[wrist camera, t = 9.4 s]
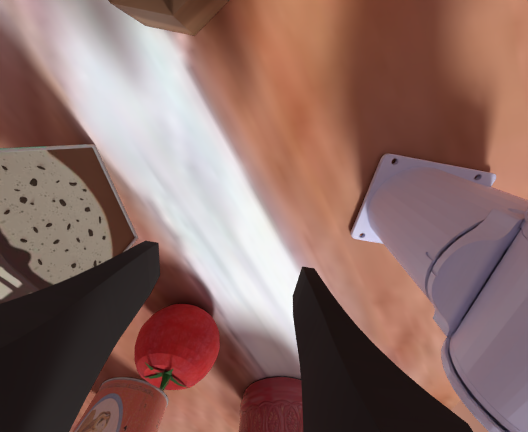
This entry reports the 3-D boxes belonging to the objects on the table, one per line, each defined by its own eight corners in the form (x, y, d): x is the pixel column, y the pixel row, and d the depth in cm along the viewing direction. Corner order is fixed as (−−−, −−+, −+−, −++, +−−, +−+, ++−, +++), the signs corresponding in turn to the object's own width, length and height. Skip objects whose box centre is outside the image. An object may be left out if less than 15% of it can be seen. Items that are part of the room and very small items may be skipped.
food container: (19, 135, 18) (-228, 162, 9) (85, 124, 18) (-110, 141, 9) (91, 255, 24) (-22, 345, 15) (143, 249, 23) (60, 340, 14)
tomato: (147, 288, 25) (97, 359, 18) (222, 290, 25) (201, 362, 18) (164, 337, 29) (128, 411, 22) (228, 339, 29) (214, 415, 22)
